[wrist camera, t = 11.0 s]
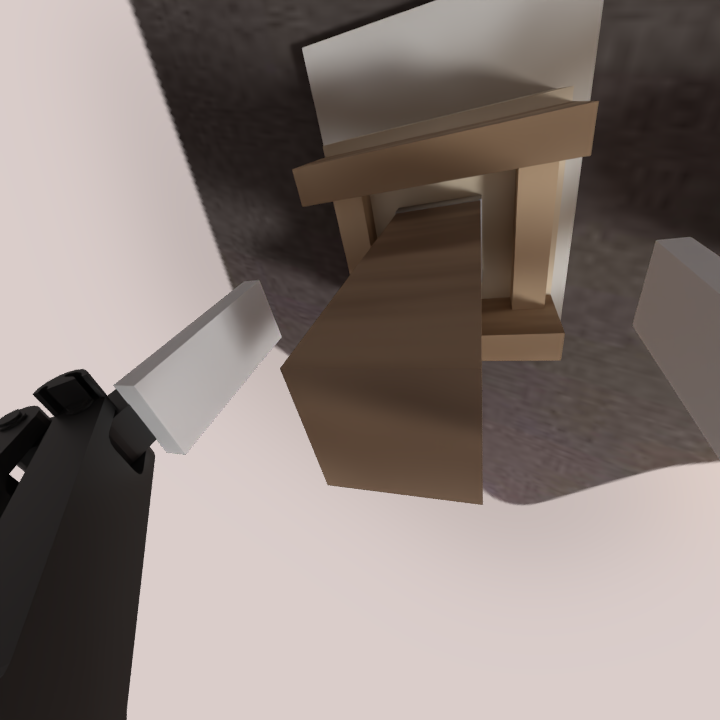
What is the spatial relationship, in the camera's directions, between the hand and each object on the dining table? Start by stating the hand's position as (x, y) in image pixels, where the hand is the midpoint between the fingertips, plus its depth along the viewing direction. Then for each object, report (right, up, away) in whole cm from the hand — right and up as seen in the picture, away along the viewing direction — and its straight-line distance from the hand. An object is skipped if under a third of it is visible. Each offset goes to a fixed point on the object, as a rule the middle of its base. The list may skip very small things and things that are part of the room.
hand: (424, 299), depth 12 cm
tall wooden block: (+2, +4, +6) cm, 8 cm away
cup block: (+3, +7, +10) cm, 13 cm away
